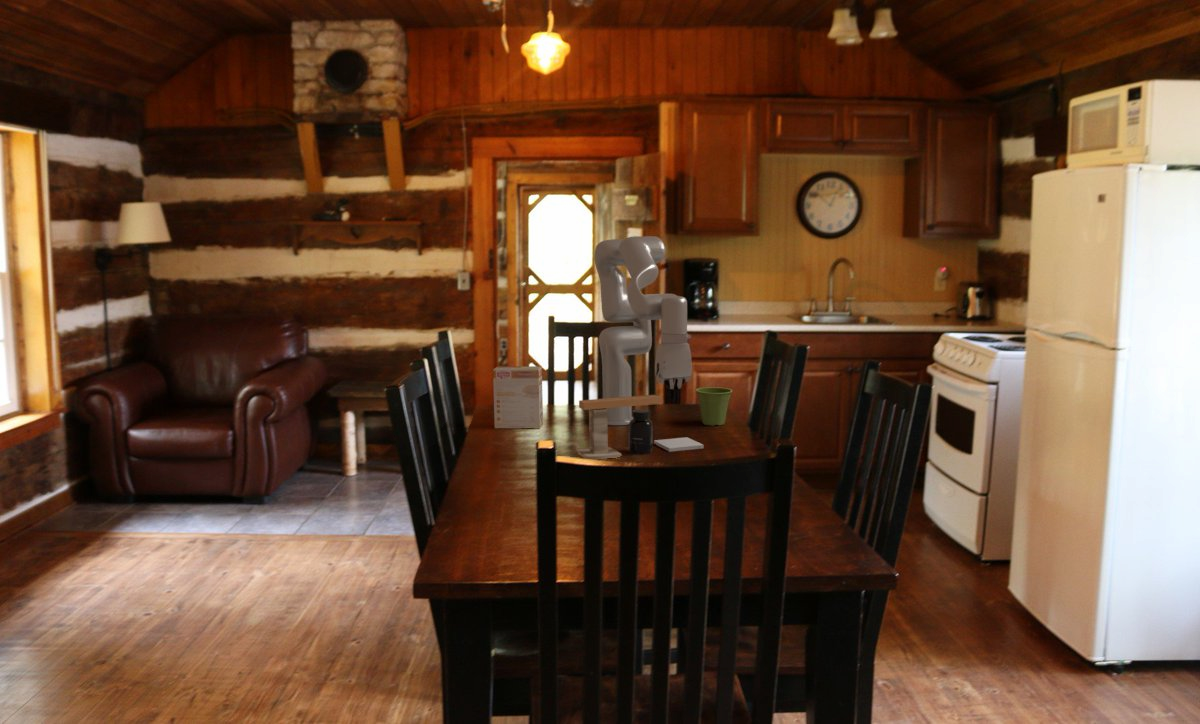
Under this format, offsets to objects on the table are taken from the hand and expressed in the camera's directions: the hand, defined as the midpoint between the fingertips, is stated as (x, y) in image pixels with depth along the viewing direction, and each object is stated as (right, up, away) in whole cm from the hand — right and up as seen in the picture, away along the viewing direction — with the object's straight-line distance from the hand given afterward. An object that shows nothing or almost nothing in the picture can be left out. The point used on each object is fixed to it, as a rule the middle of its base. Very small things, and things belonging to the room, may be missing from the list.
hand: (673, 401), depth 288 cm
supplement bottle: (-10, -15, -2) cm, 18 cm away
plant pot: (+16, -9, +35) cm, 40 cm away
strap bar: (-15, -1, -6) cm, 17 cm away
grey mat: (+2, -13, +5) cm, 14 cm away
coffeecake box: (-48, -10, +34) cm, 59 cm away
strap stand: (-22, -15, -6) cm, 27 cm away
